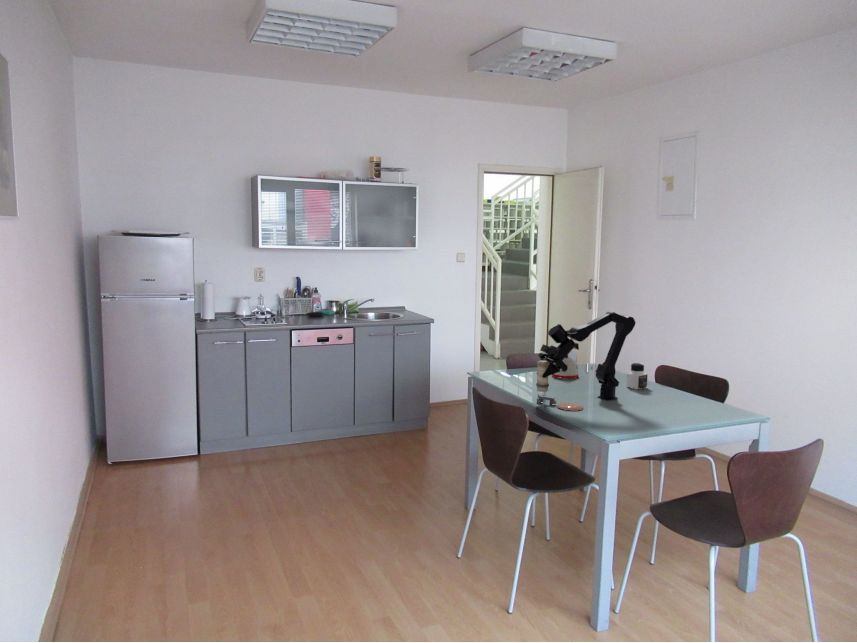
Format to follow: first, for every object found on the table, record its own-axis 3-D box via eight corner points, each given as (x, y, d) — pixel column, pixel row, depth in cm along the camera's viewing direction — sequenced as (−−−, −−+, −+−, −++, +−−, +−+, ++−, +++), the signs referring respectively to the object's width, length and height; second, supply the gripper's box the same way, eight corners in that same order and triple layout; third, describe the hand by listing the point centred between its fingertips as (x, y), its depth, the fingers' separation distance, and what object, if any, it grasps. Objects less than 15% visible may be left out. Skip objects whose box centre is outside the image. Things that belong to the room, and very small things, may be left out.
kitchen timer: (554, 379, 333) (555, 350, 331) (549, 373, 347) (549, 346, 345) (581, 378, 334) (582, 350, 332) (574, 373, 347) (575, 346, 345)
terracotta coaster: (570, 403, 285) (570, 401, 285) (588, 408, 276) (588, 407, 276) (551, 406, 280) (551, 405, 280) (569, 412, 270) (569, 411, 270)
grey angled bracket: (541, 398, 294) (541, 391, 293) (560, 404, 283) (560, 397, 283) (529, 399, 290) (529, 393, 290) (548, 406, 279) (548, 399, 279)
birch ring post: (539, 388, 288) (539, 359, 286) (550, 389, 285) (551, 361, 283) (533, 390, 283) (534, 361, 281) (545, 392, 280) (546, 363, 278)
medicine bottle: (638, 390, 310) (639, 365, 309) (625, 387, 316) (627, 363, 315) (647, 388, 315) (648, 364, 313) (634, 385, 320) (636, 361, 319)
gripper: (542, 334, 291) (519, 360, 289) (562, 341, 273) (538, 368, 271) (557, 351, 294) (534, 376, 292) (578, 358, 276) (554, 385, 275)
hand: (540, 376), depth 283 cm, fingers closed on birch ring post, 5 cm apart
